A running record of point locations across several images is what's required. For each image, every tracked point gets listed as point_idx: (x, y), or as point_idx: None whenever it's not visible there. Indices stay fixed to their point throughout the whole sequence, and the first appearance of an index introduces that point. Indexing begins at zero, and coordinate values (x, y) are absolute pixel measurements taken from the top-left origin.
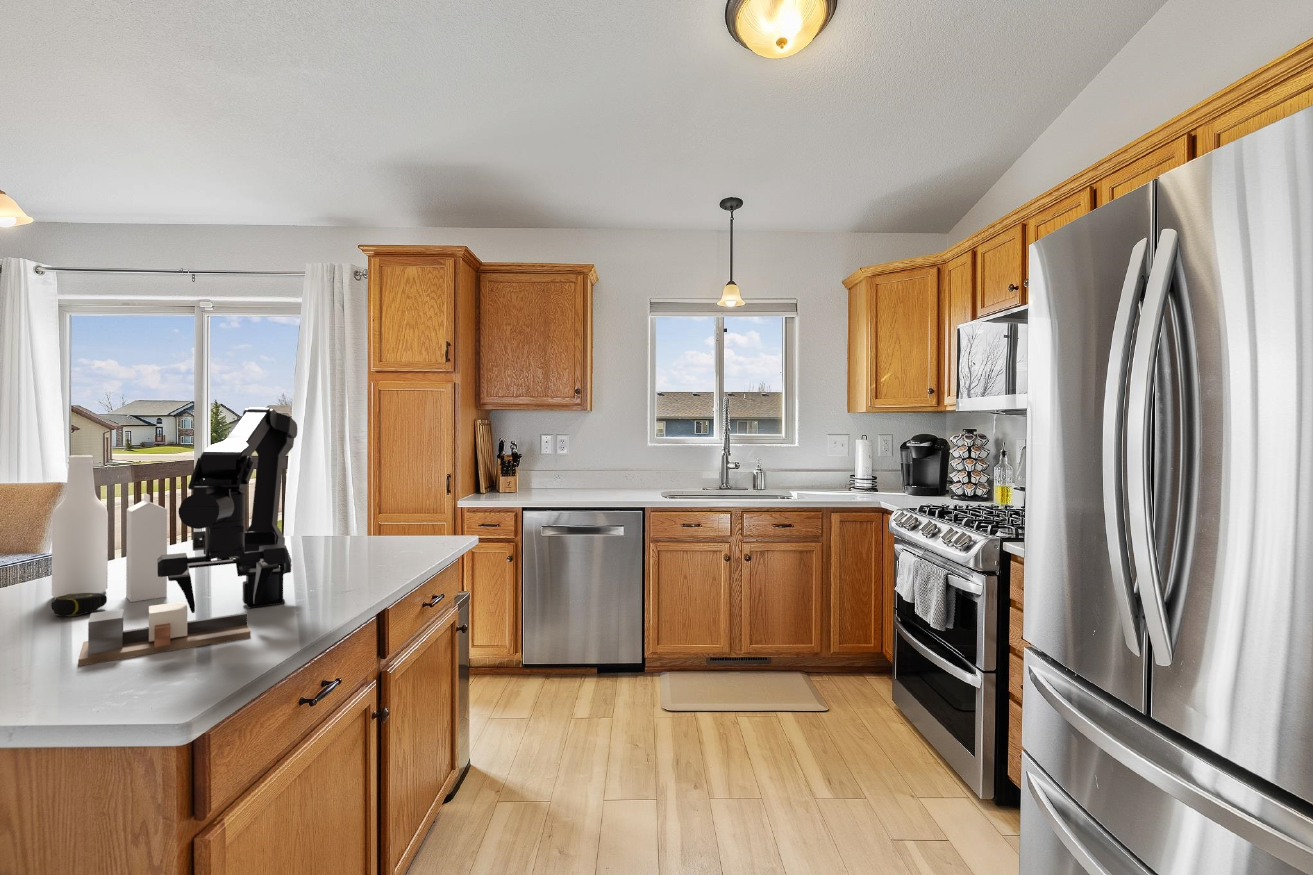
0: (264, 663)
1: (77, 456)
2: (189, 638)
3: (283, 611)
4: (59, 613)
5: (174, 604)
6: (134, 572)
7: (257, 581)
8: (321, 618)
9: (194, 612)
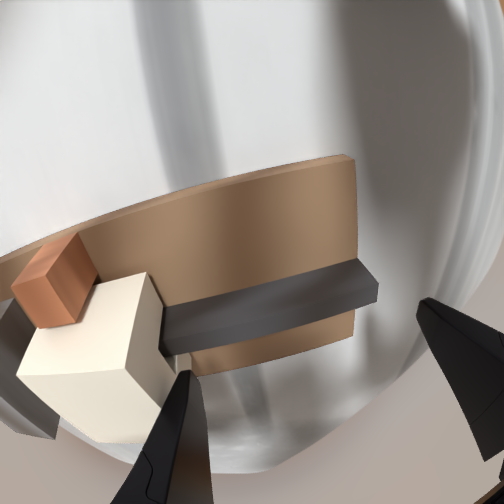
0: (338, 419)
1: None
2: (199, 355)
3: (449, 68)
4: None
5: (103, 396)
6: None
7: (469, 401)
8: (489, 216)
9: (199, 384)
